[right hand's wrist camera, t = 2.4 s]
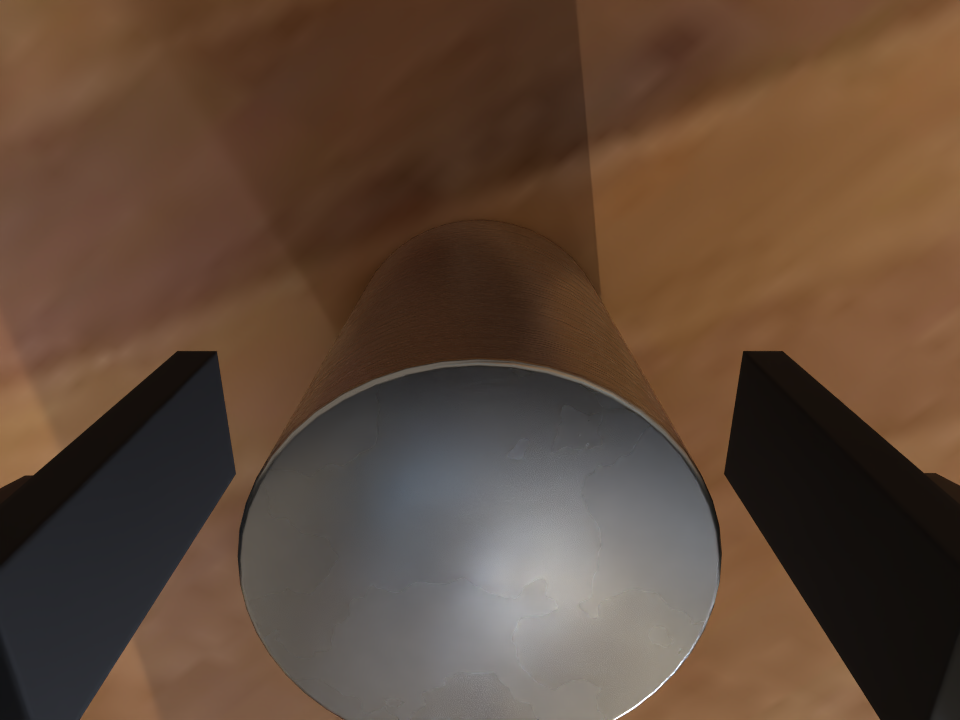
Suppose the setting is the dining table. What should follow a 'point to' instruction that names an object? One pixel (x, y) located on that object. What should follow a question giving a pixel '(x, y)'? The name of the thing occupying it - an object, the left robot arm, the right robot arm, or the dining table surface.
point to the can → (479, 501)
